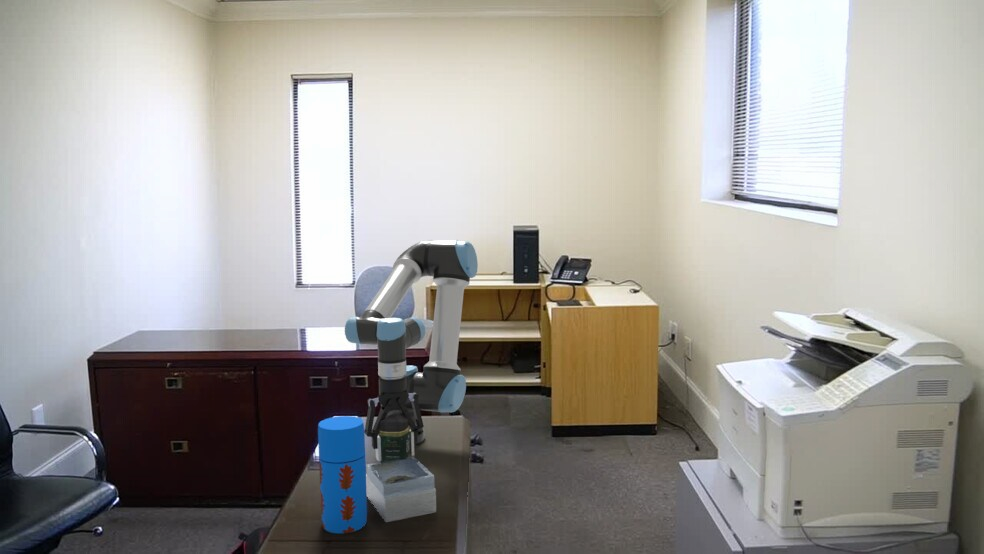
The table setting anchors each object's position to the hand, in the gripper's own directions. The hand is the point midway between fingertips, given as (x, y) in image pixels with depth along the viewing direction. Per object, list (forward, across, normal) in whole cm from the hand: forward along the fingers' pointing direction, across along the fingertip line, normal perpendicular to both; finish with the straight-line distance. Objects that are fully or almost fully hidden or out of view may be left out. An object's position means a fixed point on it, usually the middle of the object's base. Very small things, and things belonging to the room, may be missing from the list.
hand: (395, 456), depth 208 cm
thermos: (+7, -19, -20) cm, 28 cm away
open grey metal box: (+7, -4, -15) cm, 17 cm away
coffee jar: (+7, 0, 0) cm, 7 cm away
